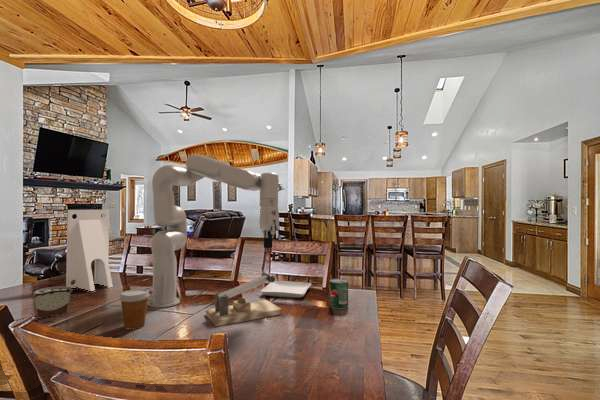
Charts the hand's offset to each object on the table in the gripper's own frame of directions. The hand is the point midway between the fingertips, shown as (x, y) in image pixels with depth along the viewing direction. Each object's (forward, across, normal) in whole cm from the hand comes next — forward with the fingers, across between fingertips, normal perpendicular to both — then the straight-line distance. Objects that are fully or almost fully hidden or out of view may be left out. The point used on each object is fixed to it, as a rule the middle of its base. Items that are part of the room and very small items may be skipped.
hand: (267, 247), depth 133 cm
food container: (+27, +37, +75) cm, 88 cm away
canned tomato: (+25, -10, -29) cm, 40 cm away
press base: (+26, 0, +10) cm, 28 cm away
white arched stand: (+27, +76, +62) cm, 101 cm away
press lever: (+16, 0, +9) cm, 18 cm away
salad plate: (+26, +20, -20) cm, 38 cm away
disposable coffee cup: (+26, +7, +48) cm, 55 cm away
